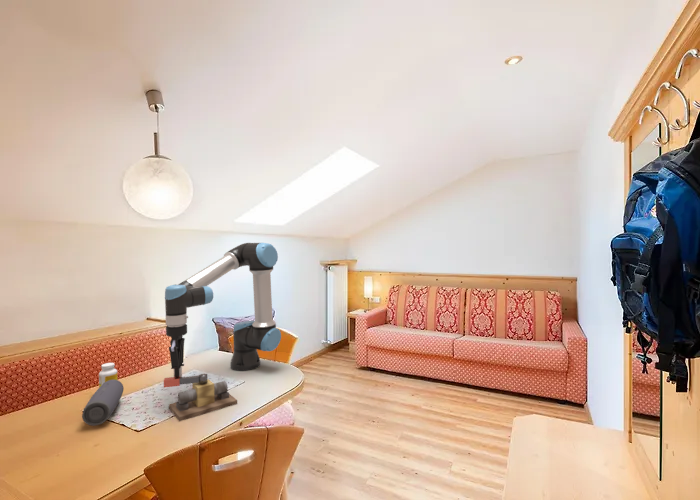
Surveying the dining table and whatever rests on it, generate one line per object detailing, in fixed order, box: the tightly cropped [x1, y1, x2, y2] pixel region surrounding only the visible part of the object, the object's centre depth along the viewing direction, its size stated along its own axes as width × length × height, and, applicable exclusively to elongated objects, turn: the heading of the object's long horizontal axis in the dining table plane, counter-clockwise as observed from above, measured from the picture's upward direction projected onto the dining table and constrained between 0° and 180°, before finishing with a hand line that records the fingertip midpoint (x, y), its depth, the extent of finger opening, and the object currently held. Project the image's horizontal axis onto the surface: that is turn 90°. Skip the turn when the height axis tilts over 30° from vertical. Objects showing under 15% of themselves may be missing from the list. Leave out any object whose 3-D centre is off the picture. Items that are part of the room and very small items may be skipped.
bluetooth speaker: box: [81, 379, 124, 427], centre depth 140 cm, size 23×9×10 cm, turn 21°
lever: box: [163, 373, 208, 388], centre depth 145 cm, size 16×3×3 cm, turn 108°
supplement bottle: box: [98, 362, 118, 388], centre depth 158 cm, size 7×7×13 cm
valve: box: [168, 378, 238, 422], centre depth 147 cm, size 22×14×9 cm, turn 131°
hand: (178, 383), depth 146 cm, fingers closed
